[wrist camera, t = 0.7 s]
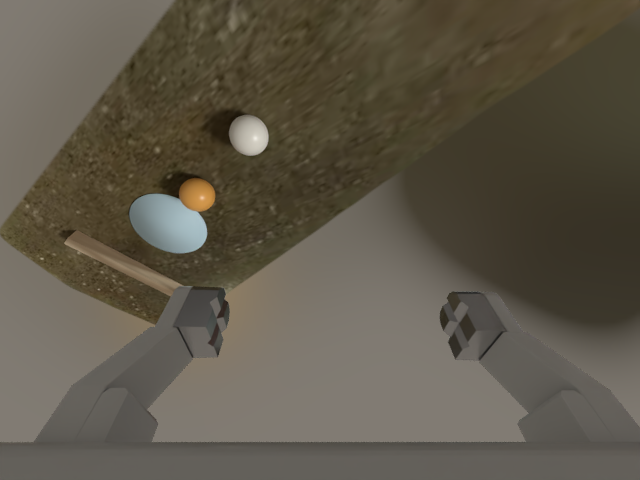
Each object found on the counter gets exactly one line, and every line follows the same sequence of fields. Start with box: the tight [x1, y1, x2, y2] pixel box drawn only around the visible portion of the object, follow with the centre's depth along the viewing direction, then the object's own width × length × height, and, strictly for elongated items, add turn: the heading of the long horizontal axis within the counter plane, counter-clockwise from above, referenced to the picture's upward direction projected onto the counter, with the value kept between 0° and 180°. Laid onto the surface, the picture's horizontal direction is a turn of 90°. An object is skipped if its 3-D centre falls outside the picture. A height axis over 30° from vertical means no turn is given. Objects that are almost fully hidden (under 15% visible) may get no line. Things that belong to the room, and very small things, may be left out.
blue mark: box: [129, 194, 207, 253], centre depth 52 cm, size 14×14×1 cm
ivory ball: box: [229, 115, 268, 156], centre depth 39 cm, size 6×6×6 cm
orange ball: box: [179, 178, 215, 211], centre depth 45 cm, size 6×6×6 cm
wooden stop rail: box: [64, 230, 183, 296], centre depth 58 cm, size 2×24×2 cm, turn 44°
